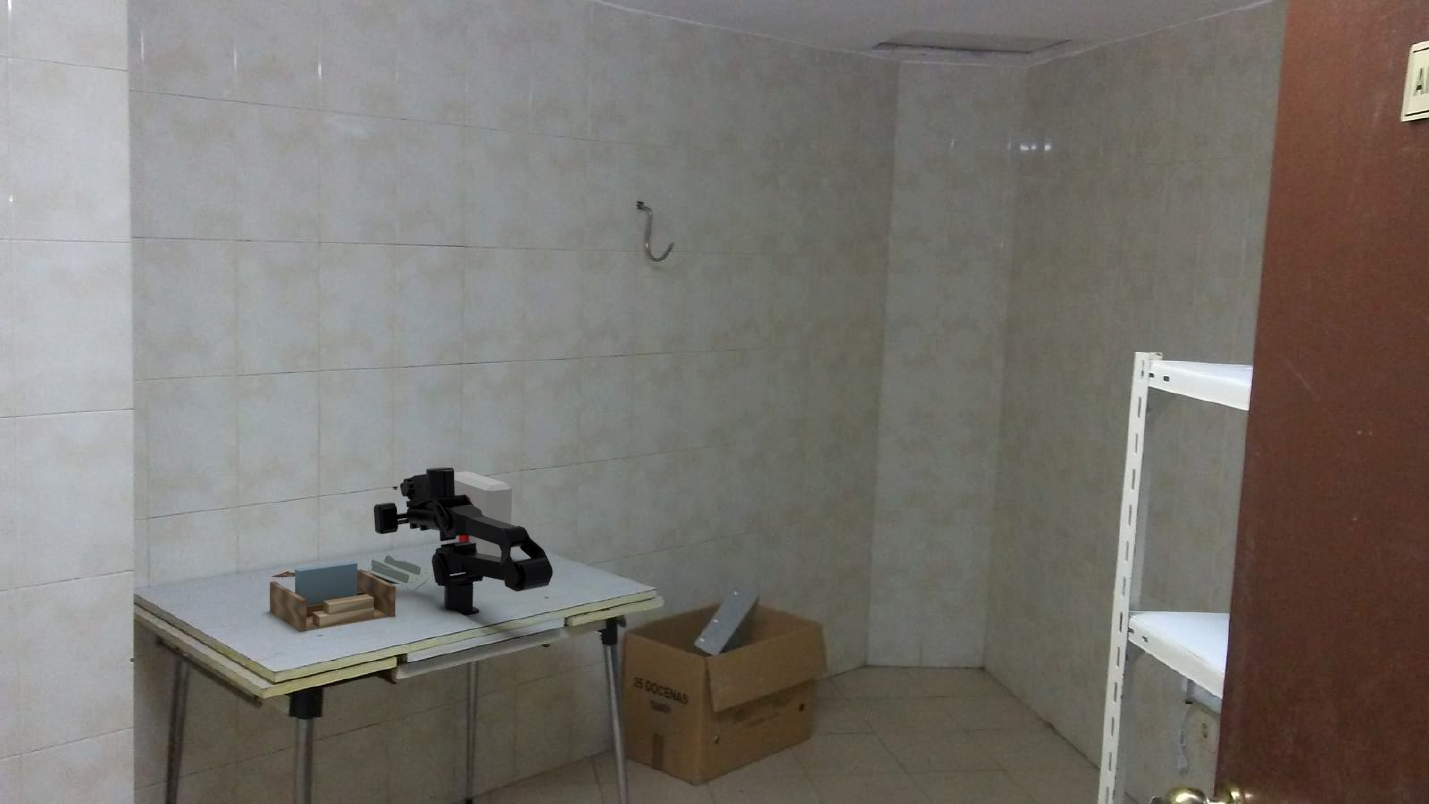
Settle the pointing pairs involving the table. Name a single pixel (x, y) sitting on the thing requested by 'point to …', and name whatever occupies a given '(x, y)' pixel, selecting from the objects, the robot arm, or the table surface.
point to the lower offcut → (341, 617)
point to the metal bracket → (400, 572)
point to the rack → (301, 614)
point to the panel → (326, 582)
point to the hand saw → (285, 574)
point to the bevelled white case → (484, 504)
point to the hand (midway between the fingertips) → (396, 510)
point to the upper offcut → (348, 604)
